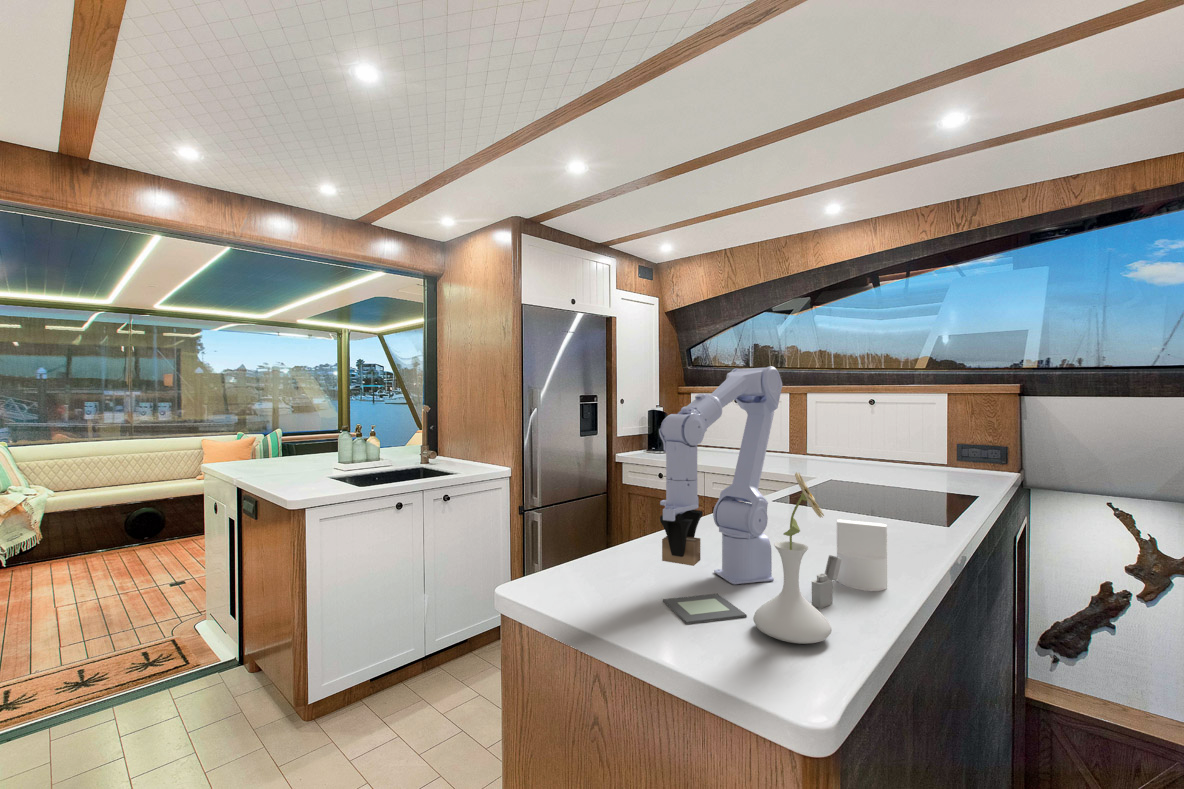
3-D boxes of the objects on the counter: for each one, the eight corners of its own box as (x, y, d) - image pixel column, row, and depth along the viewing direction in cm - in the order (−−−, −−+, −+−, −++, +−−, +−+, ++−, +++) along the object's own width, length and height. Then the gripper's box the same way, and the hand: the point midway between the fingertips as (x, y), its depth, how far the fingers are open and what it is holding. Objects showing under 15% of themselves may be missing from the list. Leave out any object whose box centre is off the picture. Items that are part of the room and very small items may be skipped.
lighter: (820, 608, 90) (820, 563, 91) (811, 605, 92) (810, 560, 92) (841, 599, 95) (841, 556, 95) (832, 596, 96) (832, 553, 96)
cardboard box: (669, 555, 98) (669, 533, 99) (700, 559, 96) (700, 537, 96) (662, 560, 95) (662, 538, 95) (693, 565, 92) (693, 542, 92)
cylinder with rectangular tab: (835, 586, 102) (835, 525, 102) (837, 572, 110) (837, 516, 110) (888, 594, 97) (888, 530, 98) (886, 579, 105) (886, 520, 106)
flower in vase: (818, 660, 72) (817, 481, 73) (741, 636, 80) (740, 474, 80) (843, 629, 82) (843, 472, 83) (773, 610, 90) (772, 466, 90)
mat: (717, 595, 96) (717, 593, 96) (746, 617, 87) (746, 614, 87) (662, 601, 94) (662, 598, 94) (686, 624, 84) (686, 621, 84)
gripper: (674, 472, 104) (674, 540, 104) (646, 482, 91) (646, 559, 91) (708, 475, 100) (709, 545, 100) (685, 485, 88) (685, 565, 87)
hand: (681, 552), depth 95 cm, fingers closed on cardboard box, 4 cm apart
